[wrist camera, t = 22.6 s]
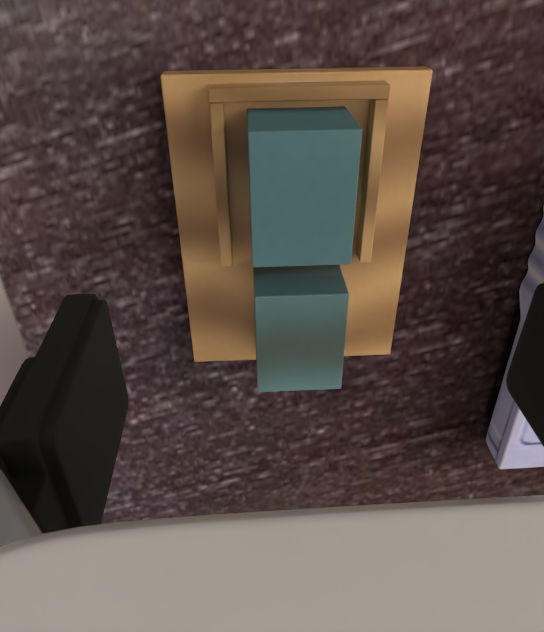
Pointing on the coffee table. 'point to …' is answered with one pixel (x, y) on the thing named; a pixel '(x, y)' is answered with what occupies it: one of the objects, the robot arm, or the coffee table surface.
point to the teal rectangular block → (302, 185)
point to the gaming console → (507, 420)
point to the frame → (235, 227)
